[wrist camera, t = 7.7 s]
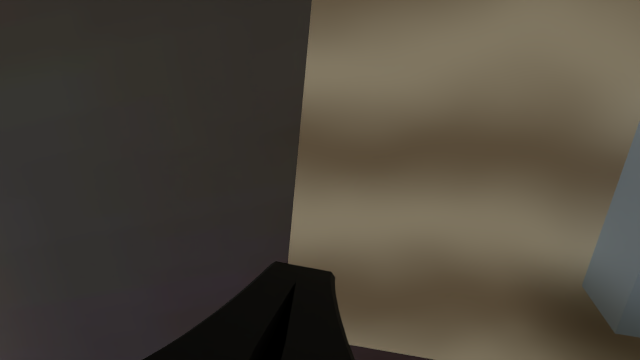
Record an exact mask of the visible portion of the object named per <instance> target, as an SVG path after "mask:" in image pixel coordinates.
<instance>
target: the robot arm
mask: <svg viewBox="0 0 640 360" xmlns="http://www.w3.org/2000/svg"><path fill="white" fill-rule="evenodd" d="M143 360H355V359H354V357H353V354H352V351H351V348H350V346H349V343H348V340H347V337H346V333H345V330H344V327H343V323H342V320H341V316H340V312H339V308H338V303H337V298H336V290H335V276H334V275H333V273H332V272H331V271H325V270H320V269H314V268H309V267H304V266H298V265H293V264H287V263H282V262H274V263H272V264H271V265H270V266H269V267H268V268H266V269H265V270H264V271H263V272H262V273H261V274H260V275H259V276H258V277H257V278H256V279H255V280H253V281H252V282H251V283H250V284H249V285H248V286H247V287H246V288H244V289H243V290H242V291H241V292H240V293H238V294H237V295H236V296H235V297H234V298H232V299H231V300H230V301H229V302H227V303H226V304H225V305H224V306H222V307H221V308H220V309H219V310H217V311H216V312H215V313H213V314H212V315H211V316H209V317H208V318H206V319H205V320H204V321H202V322H201V323H200V324H198V325H197V326H195V327H194V328H193V329H191V330H190V331H188V332H187V333H185V334H184V335H182V336H181V337H179V338H178V339H176V340H175V341H173V342H172V343H170V344H168V345H167V346H165V347H164V348H162V349H160V350H158V351H157V352H155V353H153V354H152V355H150V356H148V357H146V358H145V359H143Z"/></svg>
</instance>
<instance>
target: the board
mask: <svg viewBox="0 0 640 360" xmlns="http://www.w3.org/2000/svg"><path fill="white" fill-rule="evenodd" d="M639 121H640V0H312V7H311V18H310V28H309V39H308V50H307V61H306V72H305V83H304V94H303V105H302V116H301V127H300V138H299V149H298V160H297V170H296V181H295V192H294V203H293V214H292V225H291V236H290V247H289V258H288V264H293V265H298V266H304V267H309V268H314V269H320V270H325V271H331V272H332V273H333V275H334V276H335V290H336V298H337V303H338V308H339V312H340V316H341V320H342V323H343V327H344V330H345V333H346V337H347V340H348V343H349V345H355V346H361V347H366V348H372V349H378V350H383V351H389V352H395V353H401V354H406V355H412V356H418V357H423V358H429V359H435V360H640V337H634V336H627V335H621V334H615V333H614V331H613V330H612V329H611V327H610V326H609V324H608V323H607V321H606V320H605V318H604V317H603V316H602V314H601V313H600V311H599V310H598V308H597V307H596V305H595V304H594V303H593V301H592V300H591V298H590V297H589V295H588V294H587V293H586V291H585V290H584V288H583V287H582V284H583V281H584V278H585V275H586V272H587V269H588V266H589V264H590V261H591V258H592V255H593V252H594V249H595V247H596V244H597V241H598V238H599V235H600V232H601V229H602V227H603V224H604V221H605V218H606V215H607V212H608V209H609V207H610V204H611V201H612V198H613V195H614V192H615V190H616V187H617V184H618V181H619V178H620V175H621V172H622V170H623V167H624V164H625V161H626V158H627V155H628V153H629V150H630V147H631V144H632V141H633V138H634V135H635V133H636V130H637V127H638V124H639Z"/></svg>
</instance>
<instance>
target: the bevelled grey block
mask: <svg viewBox="0 0 640 360" xmlns="http://www.w3.org/2000/svg"><path fill="white" fill-rule="evenodd" d="M582 287H583V288H584V290H585V291H586V293H587V294H588V295H589V297H590V298H591V300H592V301H593V303H594V304H595V305H596V307H597V308H598V310H599V311H600V313H601V314H602V316H603V317H604V318H605V320H606V321H607V323H608V324H609V326H610V327H611V329H612V330H613V331H614V333H615V334H621V335H627V336H634V337H640V121H639V124H638V127H637V130H636V133H635V135H634V138H633V141H632V144H631V147H630V150H629V153H628V155H627V158H626V161H625V164H624V167H623V170H622V172H621V175H620V178H619V181H618V184H617V187H616V190H615V192H614V195H613V198H612V201H611V204H610V207H609V209H608V212H607V215H606V218H605V221H604V224H603V227H602V229H601V232H600V235H599V238H598V241H597V244H596V247H595V249H594V252H593V255H592V258H591V261H590V264H589V266H588V269H587V272H586V275H585V278H584V281H583V284H582Z"/></svg>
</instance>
